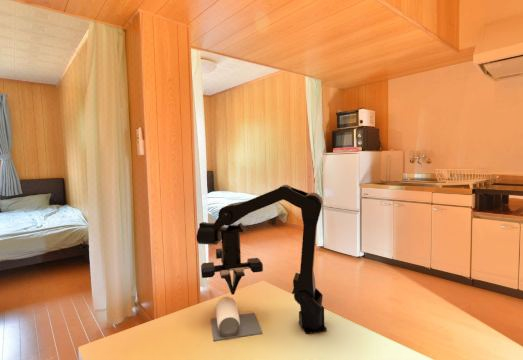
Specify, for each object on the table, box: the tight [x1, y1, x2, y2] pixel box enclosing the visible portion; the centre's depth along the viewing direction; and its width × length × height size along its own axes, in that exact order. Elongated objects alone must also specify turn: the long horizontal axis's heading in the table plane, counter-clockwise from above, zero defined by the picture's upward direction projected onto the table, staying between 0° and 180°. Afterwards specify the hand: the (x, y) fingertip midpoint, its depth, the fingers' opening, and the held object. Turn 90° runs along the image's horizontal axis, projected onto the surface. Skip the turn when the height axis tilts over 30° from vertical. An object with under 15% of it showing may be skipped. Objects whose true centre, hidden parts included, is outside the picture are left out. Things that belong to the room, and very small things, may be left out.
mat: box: [210, 312, 264, 342], centre depth 93 cm, size 14×12×1 cm
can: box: [215, 296, 240, 336], centre depth 93 cm, size 6×6×12 cm
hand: (232, 294), depth 97 cm, fingers closed
